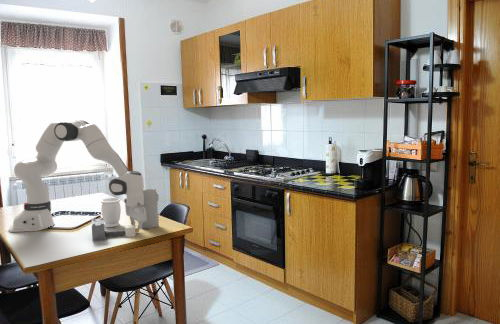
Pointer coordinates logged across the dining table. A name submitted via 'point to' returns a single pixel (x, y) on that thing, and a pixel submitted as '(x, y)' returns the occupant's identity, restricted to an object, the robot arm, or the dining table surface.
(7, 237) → the dining table surface
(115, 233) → the plug
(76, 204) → the dining table surface
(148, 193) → the tall pale column
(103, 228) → the block
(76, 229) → the dining table surface
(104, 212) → the jar
